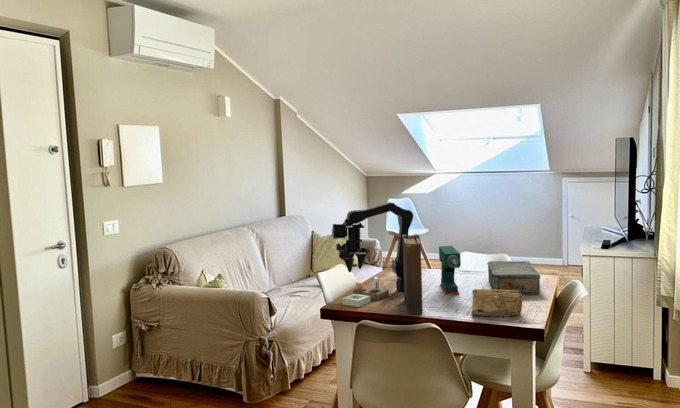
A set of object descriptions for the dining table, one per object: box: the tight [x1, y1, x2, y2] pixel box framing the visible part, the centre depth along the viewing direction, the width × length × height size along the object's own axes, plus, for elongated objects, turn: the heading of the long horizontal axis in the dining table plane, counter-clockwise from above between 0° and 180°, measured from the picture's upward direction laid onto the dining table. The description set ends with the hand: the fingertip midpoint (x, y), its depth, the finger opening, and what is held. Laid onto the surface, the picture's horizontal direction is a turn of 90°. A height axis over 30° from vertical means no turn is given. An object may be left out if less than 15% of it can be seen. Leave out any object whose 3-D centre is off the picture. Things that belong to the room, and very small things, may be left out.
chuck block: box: [362, 288, 390, 301], centre depth 253 cm, size 9×9×3 cm
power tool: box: [438, 245, 462, 296], centre depth 254 cm, size 32×7×20 cm, turn 177°
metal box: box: [487, 260, 541, 296], centre depth 263 cm, size 21×32×10 cm, turn 170°
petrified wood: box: [471, 288, 523, 317], centre depth 219 cm, size 19×13×10 cm
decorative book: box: [402, 233, 424, 315], centre depth 233 cm, size 23×7×30 cm, turn 176°
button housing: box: [352, 287, 367, 295], centre depth 259 cm, size 4×4×3 cm
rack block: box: [341, 293, 371, 308], centre depth 244 cm, size 9×9×3 cm
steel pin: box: [370, 276, 380, 293], centre depth 253 cm, size 3×3×9 cm
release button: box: [355, 281, 364, 290], centre depth 259 cm, size 3×3×4 cm
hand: (354, 270), depth 258 cm, fingers open, 9 cm apart
